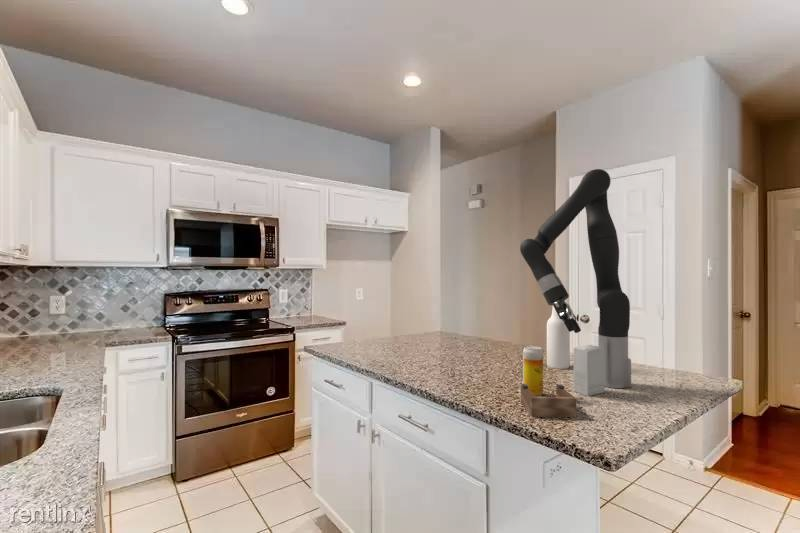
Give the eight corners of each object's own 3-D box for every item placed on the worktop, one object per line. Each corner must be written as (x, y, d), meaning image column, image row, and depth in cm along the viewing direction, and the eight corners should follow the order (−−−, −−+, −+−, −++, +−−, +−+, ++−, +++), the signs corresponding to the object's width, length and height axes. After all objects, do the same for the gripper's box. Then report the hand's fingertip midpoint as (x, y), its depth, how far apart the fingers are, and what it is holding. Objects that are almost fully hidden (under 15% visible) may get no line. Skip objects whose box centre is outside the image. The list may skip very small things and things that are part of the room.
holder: (561, 403, 123) (561, 383, 123) (576, 417, 112) (576, 395, 112) (520, 402, 124) (520, 383, 124) (531, 416, 112) (531, 395, 112)
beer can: (544, 398, 128) (544, 349, 128) (524, 396, 130) (523, 349, 130) (541, 392, 134) (541, 346, 134) (522, 391, 135) (522, 345, 136)
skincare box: (590, 388, 139) (590, 344, 139) (606, 393, 133) (605, 347, 133) (572, 391, 135) (572, 346, 135) (588, 396, 130) (587, 349, 130)
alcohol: (567, 364, 173) (566, 293, 173) (571, 370, 164) (571, 294, 164) (545, 364, 174) (544, 293, 174) (548, 369, 166) (548, 294, 166)
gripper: (557, 281, 137) (581, 325, 130) (567, 287, 149) (590, 327, 142) (537, 291, 140) (559, 335, 134) (548, 296, 152) (570, 337, 145)
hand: (575, 331), depth 138 cm, fingers open, 8 cm apart
